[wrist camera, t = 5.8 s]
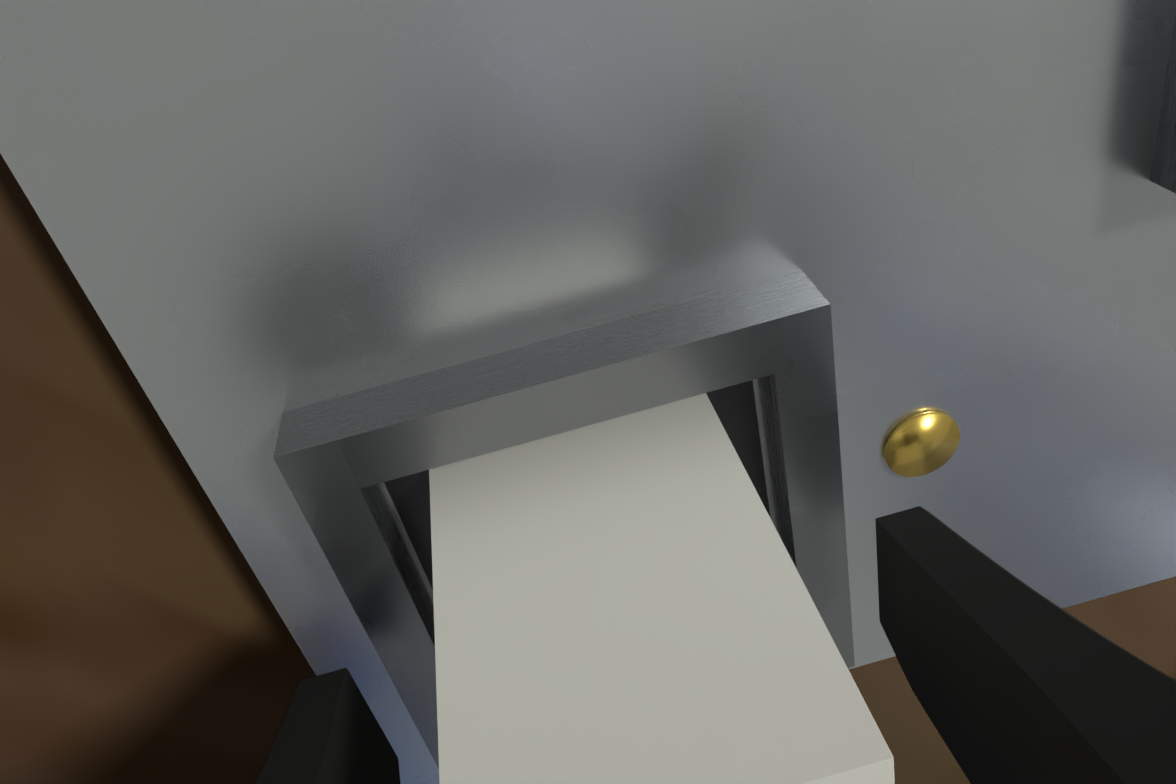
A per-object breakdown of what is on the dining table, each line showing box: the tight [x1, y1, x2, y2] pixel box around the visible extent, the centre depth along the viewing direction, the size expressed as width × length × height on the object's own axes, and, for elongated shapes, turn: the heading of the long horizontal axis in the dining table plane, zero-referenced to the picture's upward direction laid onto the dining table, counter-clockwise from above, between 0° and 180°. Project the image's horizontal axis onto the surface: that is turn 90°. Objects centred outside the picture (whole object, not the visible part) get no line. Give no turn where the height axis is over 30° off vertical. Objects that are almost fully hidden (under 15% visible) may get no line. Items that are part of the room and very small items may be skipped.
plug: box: [429, 393, 895, 784], centre depth 11 cm, size 4×4×7 cm
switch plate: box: [0, 0, 1176, 784], centre depth 12 cm, size 16×22×2 cm
